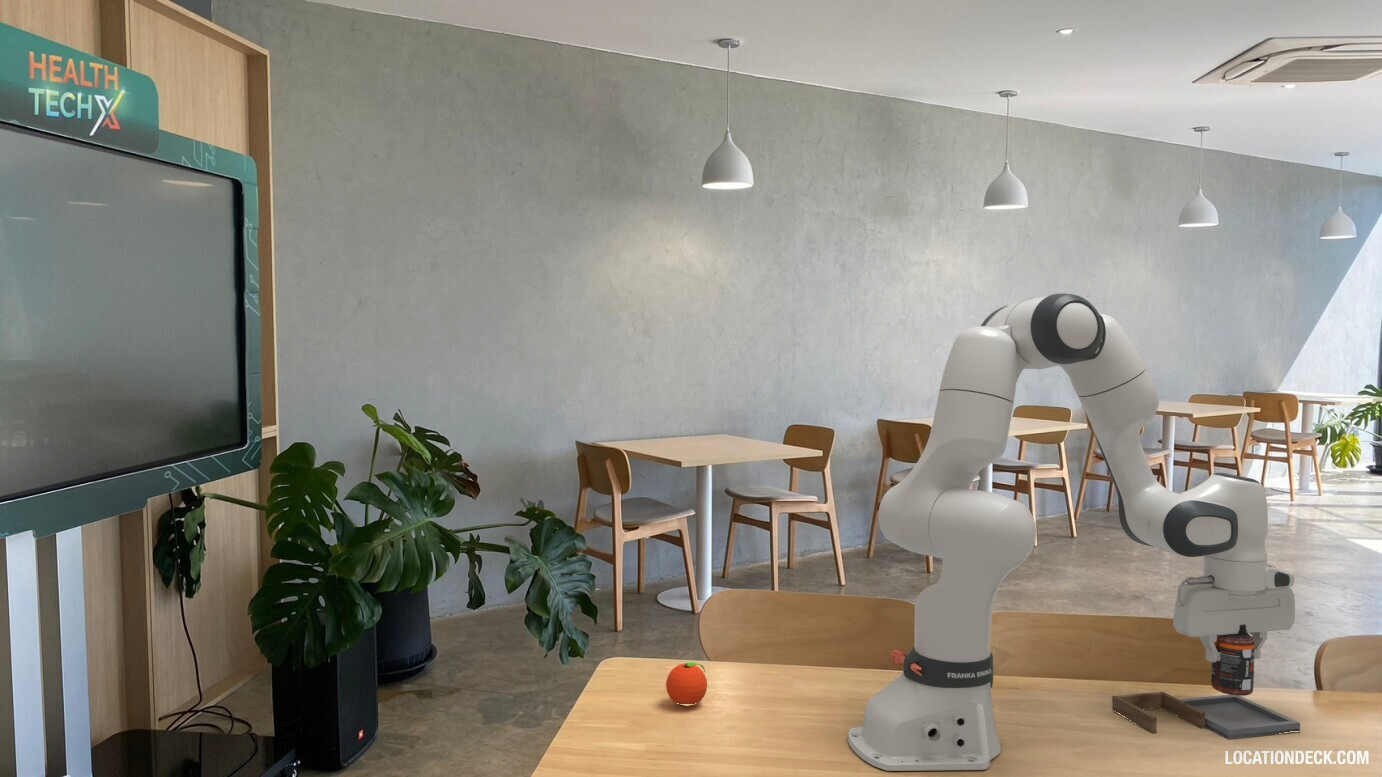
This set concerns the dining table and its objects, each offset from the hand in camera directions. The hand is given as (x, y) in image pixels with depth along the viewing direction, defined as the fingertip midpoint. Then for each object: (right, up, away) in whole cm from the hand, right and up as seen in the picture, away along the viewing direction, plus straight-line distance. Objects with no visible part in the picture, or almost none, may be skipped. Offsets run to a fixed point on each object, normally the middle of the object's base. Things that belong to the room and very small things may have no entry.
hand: (1233, 659), depth 154 cm
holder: (-12, -10, +1) cm, 15 cm away
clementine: (-88, -10, +7) cm, 89 cm away
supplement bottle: (0, -5, 0) cm, 5 cm away
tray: (0, -10, 0) cm, 10 cm away
